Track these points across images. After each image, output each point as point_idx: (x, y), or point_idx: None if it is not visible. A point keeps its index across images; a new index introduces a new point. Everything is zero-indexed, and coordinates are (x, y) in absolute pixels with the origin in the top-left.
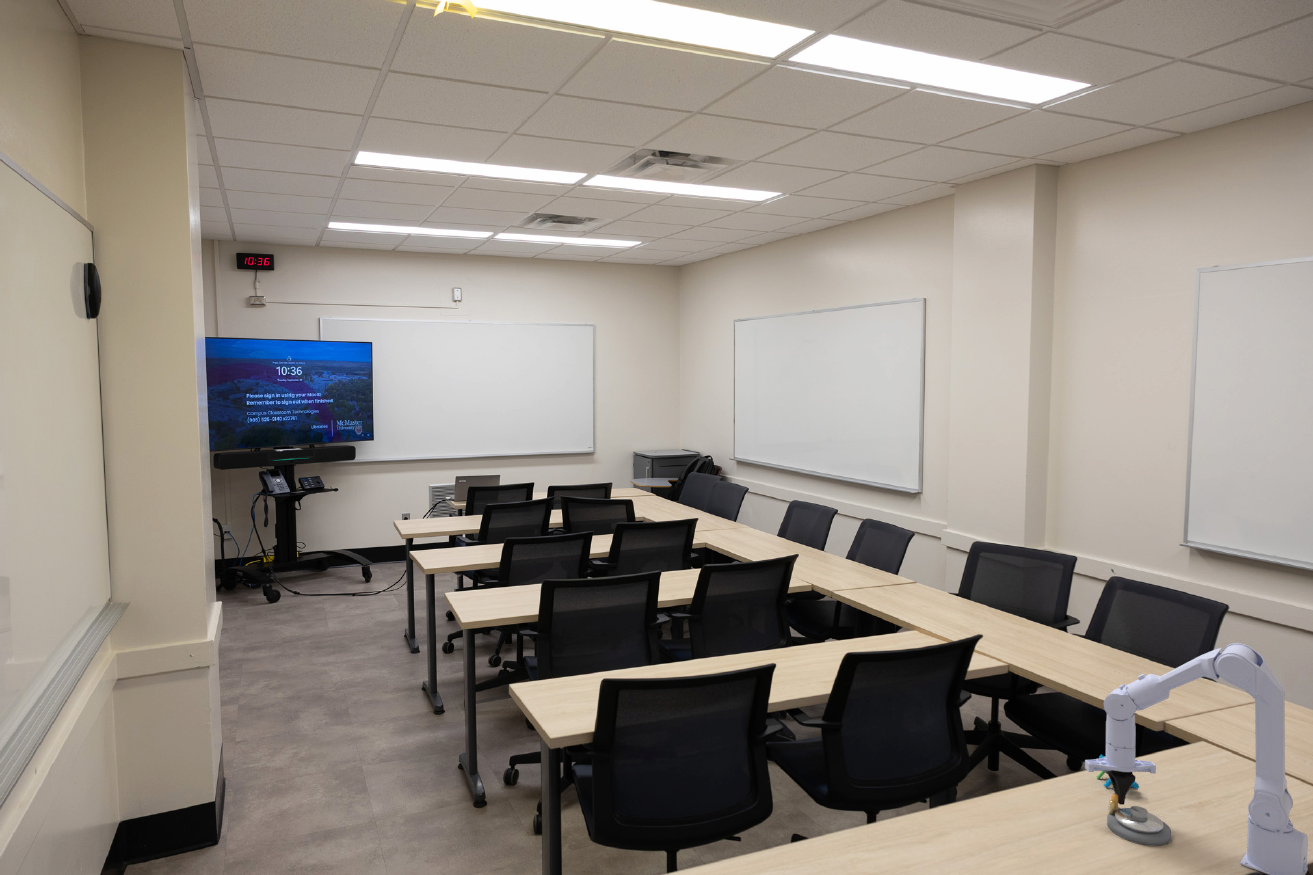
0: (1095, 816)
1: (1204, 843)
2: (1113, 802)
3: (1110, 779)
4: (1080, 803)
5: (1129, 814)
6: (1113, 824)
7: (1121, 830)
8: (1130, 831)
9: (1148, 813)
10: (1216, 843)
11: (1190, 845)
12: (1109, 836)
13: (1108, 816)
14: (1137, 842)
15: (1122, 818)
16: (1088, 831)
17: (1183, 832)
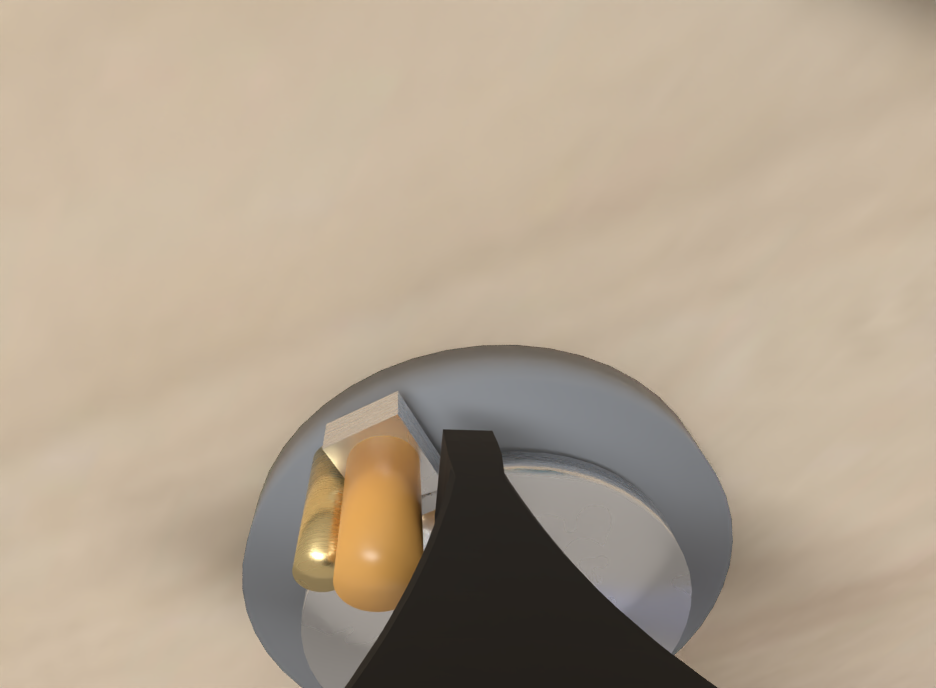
0: (214, 351)
1: (817, 643)
2: (324, 591)
3: (392, 616)
4: (146, 61)
5: None
6: (259, 604)
7: (283, 668)
8: None
9: (657, 556)
10: (891, 638)
11: (708, 664)
12: (202, 614)
13: (278, 498)
14: None
15: (343, 635)
16: (49, 568)
17: (807, 547)
